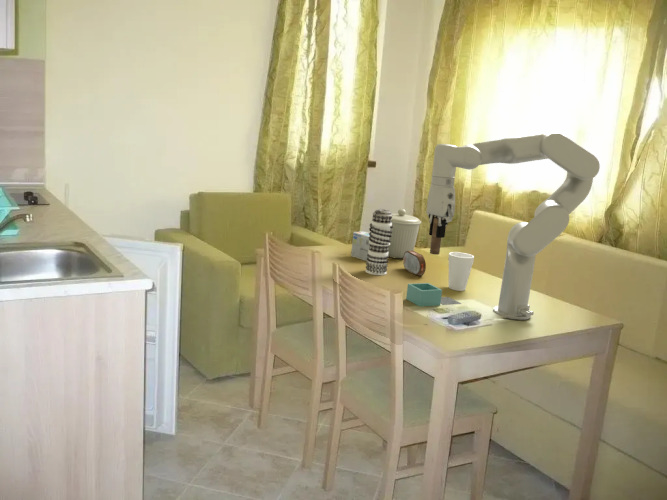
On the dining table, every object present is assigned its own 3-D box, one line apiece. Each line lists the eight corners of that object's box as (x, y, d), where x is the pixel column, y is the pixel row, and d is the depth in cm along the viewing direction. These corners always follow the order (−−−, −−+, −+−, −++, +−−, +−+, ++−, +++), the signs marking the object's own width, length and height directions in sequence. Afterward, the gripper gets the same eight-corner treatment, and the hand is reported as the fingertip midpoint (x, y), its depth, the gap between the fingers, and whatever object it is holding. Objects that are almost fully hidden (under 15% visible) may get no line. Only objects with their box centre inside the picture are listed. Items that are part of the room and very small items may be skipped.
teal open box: (439, 306, 237) (442, 289, 236) (419, 308, 233) (421, 290, 232) (426, 299, 244) (428, 283, 243) (405, 300, 240) (407, 283, 239)
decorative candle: (375, 268, 282) (381, 207, 276) (392, 274, 275) (399, 211, 270) (359, 270, 275) (366, 208, 270) (377, 276, 269) (384, 212, 263)
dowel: (441, 254, 235) (445, 219, 232) (433, 254, 233) (437, 219, 231) (435, 252, 237) (439, 217, 235) (427, 252, 236) (431, 217, 233)
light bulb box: (379, 260, 296) (381, 235, 294) (368, 262, 291) (370, 236, 289) (361, 254, 303) (363, 230, 301) (350, 256, 299) (352, 231, 296)
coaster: (461, 305, 241) (461, 303, 241) (442, 306, 238) (442, 304, 237) (448, 298, 248) (448, 296, 248) (429, 299, 244) (429, 297, 244)
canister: (397, 262, 296) (403, 213, 291) (367, 252, 308) (373, 206, 304) (425, 258, 308) (431, 212, 303) (395, 249, 321) (400, 204, 316)
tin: (425, 277, 275) (427, 257, 273) (418, 278, 273) (420, 257, 272) (407, 267, 288) (410, 248, 286) (400, 267, 287) (403, 248, 285)
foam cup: (469, 293, 258) (474, 259, 255) (444, 289, 259) (448, 255, 257) (469, 287, 267) (474, 254, 264) (445, 283, 268) (449, 250, 266)
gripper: (467, 185, 225) (460, 241, 229) (437, 178, 239) (431, 231, 243) (448, 185, 221) (442, 241, 225) (419, 178, 235) (413, 231, 239)
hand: (436, 235), depth 234 cm, fingers closed on dowel, 3 cm apart
